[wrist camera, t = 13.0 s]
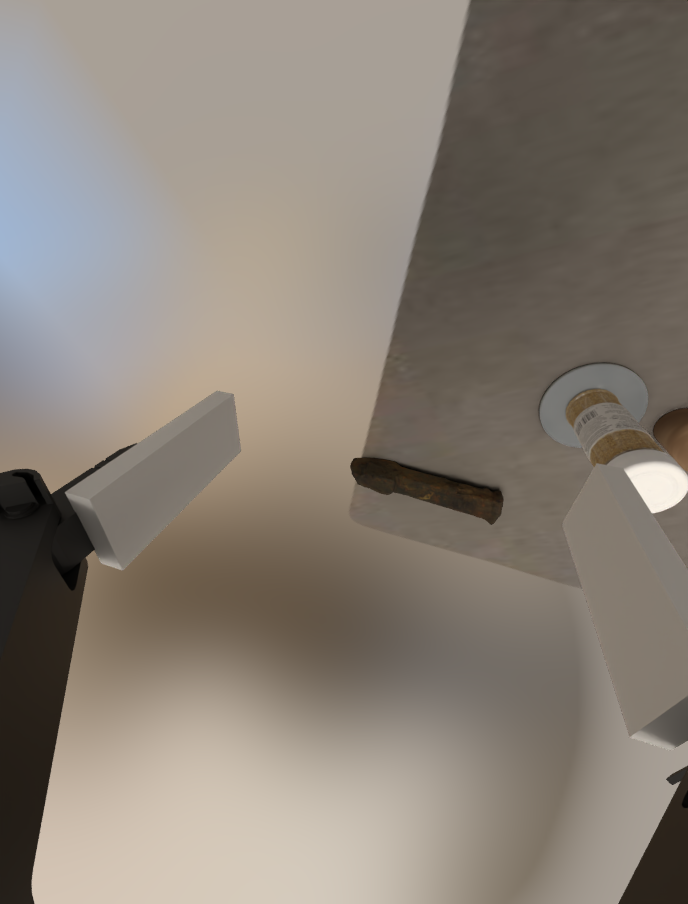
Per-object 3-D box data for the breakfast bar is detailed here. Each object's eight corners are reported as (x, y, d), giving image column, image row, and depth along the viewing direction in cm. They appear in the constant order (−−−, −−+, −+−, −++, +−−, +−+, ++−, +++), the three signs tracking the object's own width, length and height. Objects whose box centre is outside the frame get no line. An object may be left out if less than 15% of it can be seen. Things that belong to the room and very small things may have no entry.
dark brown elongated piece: (504, 486, 43) (508, 511, 39) (491, 509, 45) (493, 534, 42) (359, 439, 46) (349, 458, 42) (353, 463, 48) (343, 483, 44)
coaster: (585, 345, 33) (587, 347, 32) (670, 391, 33) (673, 393, 32) (519, 419, 38) (520, 421, 37) (592, 458, 38) (594, 461, 37)
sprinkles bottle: (585, 436, 36) (636, 526, 25) (553, 409, 36) (592, 489, 25) (630, 407, 34) (709, 493, 23) (597, 377, 33) (662, 451, 22)
